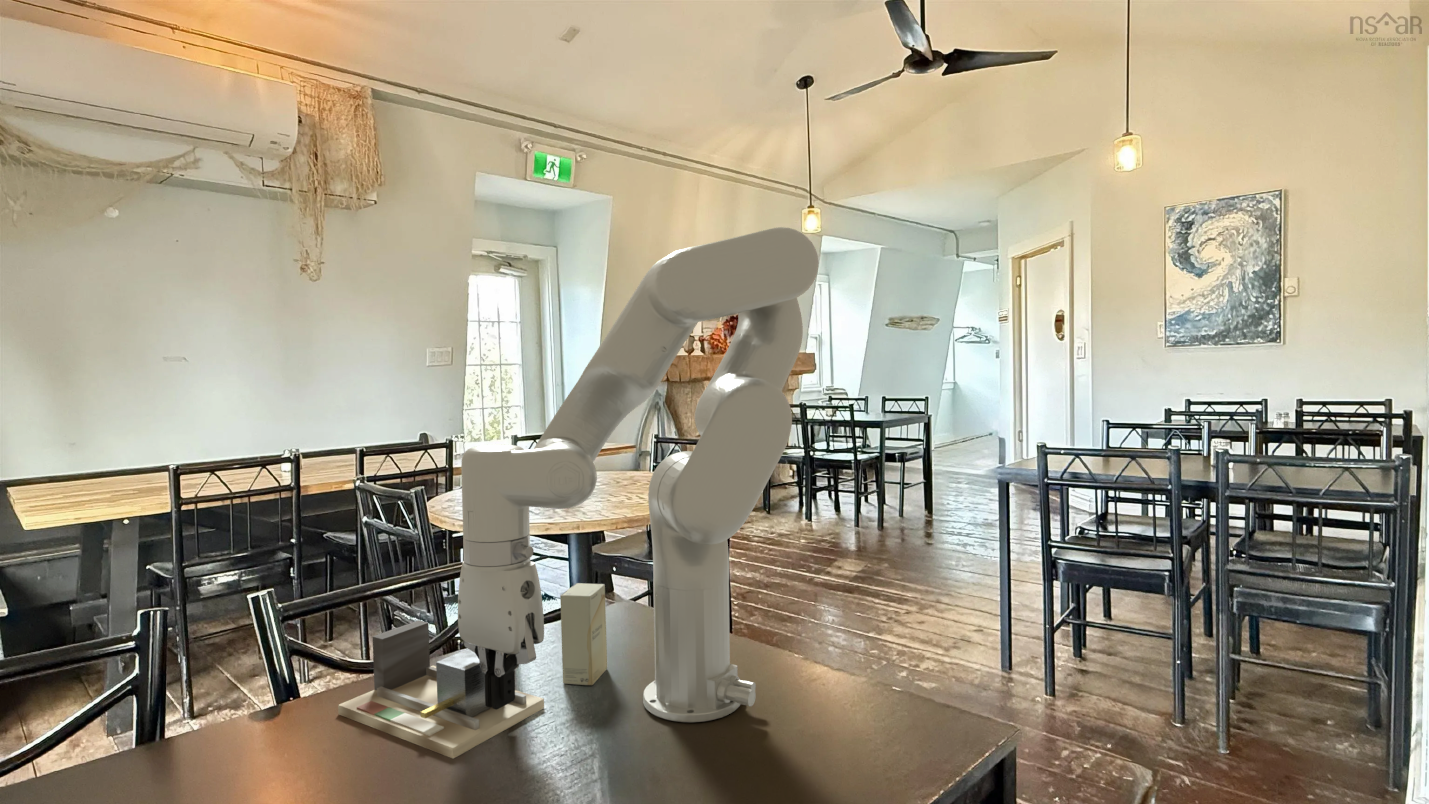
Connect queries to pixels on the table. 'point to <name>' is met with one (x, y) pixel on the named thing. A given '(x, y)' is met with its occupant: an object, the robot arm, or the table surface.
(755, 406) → the robot arm
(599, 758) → the table surface
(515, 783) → the table surface
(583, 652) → the skincare box
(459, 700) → the block
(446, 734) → the gauge board
